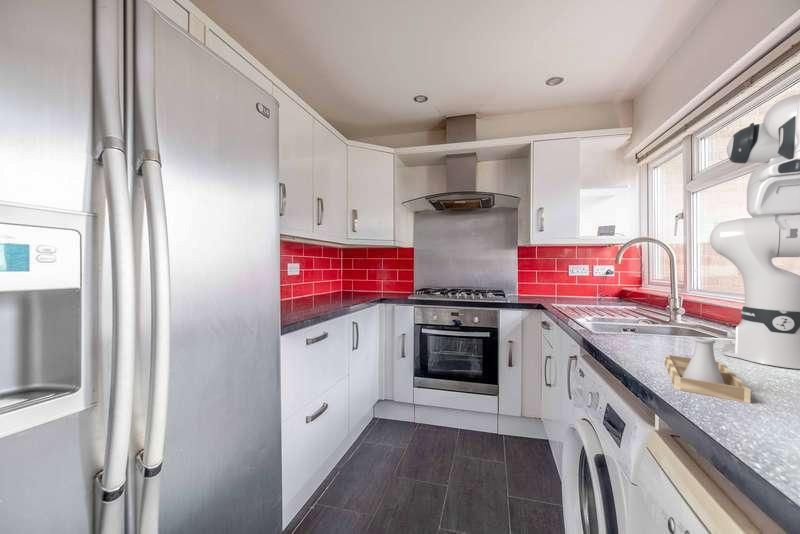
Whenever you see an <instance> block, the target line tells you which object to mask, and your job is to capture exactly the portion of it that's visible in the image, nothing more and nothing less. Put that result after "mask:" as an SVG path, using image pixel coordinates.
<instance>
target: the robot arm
mask: <svg viewBox="0 0 800 534" xmlns="http://www.w3.org/2000/svg"><path fill="white" fill-rule="evenodd" d="M726 154H727V156H728V160H729V161H730V162H731V163H732V164H733V163H735V164H747V163H751V164H754V163H755V164H756V163H760V165H758V166H757V167H756V168H755V169H754V170H753V171H752V173H751V175H750V177H749V179H748V182H747V187H746V211H747V214H749V216H750V217H746V218H745V217H744V218H738V219H737V218H736V219H731V220H727V221H722V222H720V223H718V224H717V225H716V226H714V228H713V229H712V231H711V234H710V236H709V243H710V245H711V246H710V247H711V248H712V249H713V250H714V252H716V253H717V254H718V255H720V256H722V257H724V258H726V259H727V260H728V261H730V262H731V263H732V264H733V265H734V266H735V267H736V268H737V270H738V271H739V273H740V274H741V277H742V281H743V286H744V306H742V309H741V312H740V313H741V315H740V318H741V321H740V322H739V323H738V325H737V326H736V327H735V329H730V330H727V331H726V332H727V333H726V334H727V335H726V336H727V337H726V338H727V339H729V340H730V339H731V340H730V343H724V346H723V355H724V356H727V357H728V356H729V357H733V358H737V359H741V360H745V361H749V362H752V363H757V364H762V365H767V366H772V367H773V366H774V367H780V368H787V369H794V370H795V369H797V370H800V275H799V274H797V273H795V272H792V271H789V270H787V269H783V268H781V267H778V266H776V265H775V264H774V263H773V260H772V259H775V258H800V93H799V94H794V95H790V96H788V97H785V98H782V99H780V100H779V101H777V102H775V103H774V104H773V105H772V106H771V107H770V108H769V109H768V111H767V112H766V113H765V115H764V117H763V120H762V123H756V124H755V123H754V122H752V123H749V126H746V127H744V128H741V129H739V130H738V131H736V133H734V134H733V135H732V137H731V138H730V139H729V141H728V143H727V145H726ZM761 163H762V164H761Z"/></svg>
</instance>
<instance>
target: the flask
mask: <svg viewBox="0 0 800 534" xmlns="http://www.w3.org/2000/svg"><path fill="white" fill-rule="evenodd" d="M693 339H694V341H695V345H694V346H695V347H694V351H693V354H692V357H690V358H691V360H690V362H689V364H688V366H687V368H686V369H685V371H684V373H683V374H682V376H681V377H684V378H690V379H696V380H701V381H707V382H713V383H719V384H725V383H724V380H723V378H722V376H721V374H720V371H719V369H718V366H717V363H716V362H717V361H716V357H715V353H714V344H715V343H716V340H715V339H713V338H708V337H703V336H694V337H693Z"/></svg>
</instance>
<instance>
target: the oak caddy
mask: <svg viewBox="0 0 800 534" xmlns="http://www.w3.org/2000/svg"><path fill="white" fill-rule="evenodd" d="M691 358H692V357H688V356H680V355H672V354H664V365H665V370H666V371H667V374H668V375H669V378H670V381H671V383H672V386H673V387H674V390H677V391H683V392H688V393H693V394H699V395H704V396H709V397H715V398H719V399H725V400H731V401H735V402H741V403H746V404H751V392H752V390H751V389H750V388H749V387H748V386H747V385H746V383H744V382H743V380H741V379H740V378H739V377H738V376H737V375H736V374H735V373H734V372H733V371H732V370H731V369H730V368H729V367H728V366H727V365H726V364H725V363H724V362H723V361H716V363H717V366H718V369H719V371H720V374H721V376H722V378H723V380H724V383H725V384H719V383H713V382H707V381H701V380H696V379H690V378H684V377H681V376H682V374H683V373H684V371H685V369H686V368H687V366H688V364H689V362H690V360H691Z"/></svg>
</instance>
